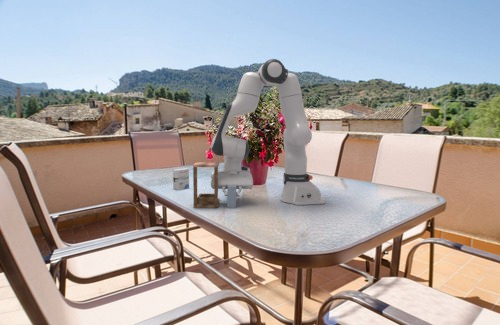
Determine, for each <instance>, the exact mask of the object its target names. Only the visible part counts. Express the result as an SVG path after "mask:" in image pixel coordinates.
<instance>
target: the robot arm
mask: <svg viewBox="0 0 500 325" xmlns="http://www.w3.org/2000/svg"><path fill="white" fill-rule="evenodd" d="M272 86H273V87H274V86H275V88H276V89H277V92H278V97H279V104H280V111H281V115H282V117H283V121H284V125H285V129H284V130H283V132H282V136H283V149H284V151H283V152H284V172H283V175H282V176H283V178H282V179H283V180H282V182H283V186H282V188H283V189H282V193H281V195H280V196H281V197H280V201H281V202H284V203H287V204H292V205H295V206H304V205H306V206H307V205H324V204H326V198H324V197H322V195H321V194H322V193H321V190H320V188H319V187H317V186H316V184H314V183H313V182H312V180H313V178H314V177H313V175H311V174H308V173H307V170H308V166H307V165H308V157H307V154H306V153H307V152H306V146H307V145H309V143H310V142H311V141H312V138H313V133H312V130H311V128H310V125H309V121H308V118H307V114H306V112H305V106H304V100H303V92H302V88H301V85H300V82H299V79H298V76H297V74H294V73H292V72H291V73H290V72H289V71H288V69H286V66H284V64H283V63H282V61H280V60H279V59H276V58H271V59H268V60H266V61H265V62H264V63H263V64H262V65H261V66H260V68H259V69H258V70H257V71H256V72H255V71H248V72H245V73H244V74H243V75H242V77H241V80H240V82H239V84H238V89H237V92H236V96H235V98H234V99H233V101H231V102H229V103H228V104H227V105H226V108H225V110H224V112H223V115H222V117H221V119H220V122H219V125H218V127H217V129H216V133H215V134H214V137H213V139H212V140H211V143H210V150H211V152H212V153H213V154H214V155H215V156H221V157H223V161H224V164H223V171H220V170H219V171H218V190H222V192H223V194H224V197H227V193H228V185H236V197H240V193H241V192H242V190H252V189H253V188H254V179H253V175H252V173H251V169H250V167H249V166H248V167H247V166H244V165H242V162H243V161H245V160H246V159H247V158H248V156H249V153H250V145H249V141H247V140H246V139H243V138H237V137H232V136H227V135H226V133H227V131H228V128H229V125H230V123H231V121H232V119H233V118H234V117H236V116H242V115H248V114H251V113H253V112H255V111H256V110H257V108H258V106H259V102H260V98H261V92H262V89H263V88H271V87H272ZM210 178H211V179H210V180H211V181H210V186H211V188H212V189H213V190H214V172H211V174H210ZM226 190H227V191H226Z"/></svg>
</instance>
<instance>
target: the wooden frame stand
mask: <svg viewBox="0 0 500 325" xmlns="http://www.w3.org/2000/svg"><path fill="white" fill-rule="evenodd" d="M192 166H193V168H192V171H193V172H192V173H193V176H192V178H193V179H192V180H193V186H192V187H193V208H194V209H218V208H219V204H220V200H221V198H219V189H218V172H219V166H220V162H214V161H212V162H207V161H206V162H204V161H202V162H200V161H197V162H195V163H193V165H192ZM198 168H214V189H213V190H214V193H199V194H198Z"/></svg>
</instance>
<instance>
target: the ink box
mask: <svg viewBox="0 0 500 325" xmlns="http://www.w3.org/2000/svg"><path fill="white" fill-rule="evenodd" d="M172 179H173V180H172V182H173V183H172V184H173V188H172V189H173V190H175V191H181V190H185V189H189V188H190V169H189V168H184V167H183V168H177V169H176V168H175V169H173V170H172Z"/></svg>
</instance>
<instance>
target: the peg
mask: <svg viewBox="0 0 500 325" xmlns="http://www.w3.org/2000/svg"><path fill="white" fill-rule="evenodd" d="M227 191H228V193H227V196H226V197H227V201H226V202H227V206H226V207H227V208H228V209H229V208H230V209H231V208H232V209H236V208H237V196H236V192H237V189H236V185H228V189H227Z"/></svg>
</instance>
